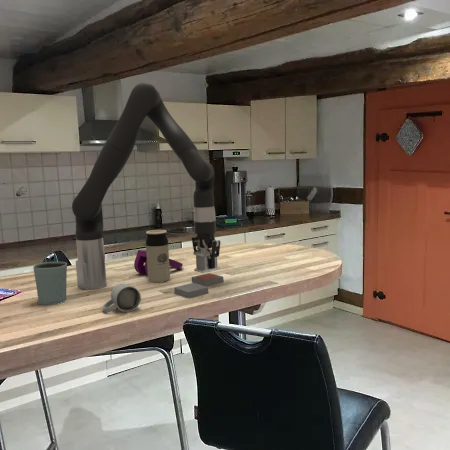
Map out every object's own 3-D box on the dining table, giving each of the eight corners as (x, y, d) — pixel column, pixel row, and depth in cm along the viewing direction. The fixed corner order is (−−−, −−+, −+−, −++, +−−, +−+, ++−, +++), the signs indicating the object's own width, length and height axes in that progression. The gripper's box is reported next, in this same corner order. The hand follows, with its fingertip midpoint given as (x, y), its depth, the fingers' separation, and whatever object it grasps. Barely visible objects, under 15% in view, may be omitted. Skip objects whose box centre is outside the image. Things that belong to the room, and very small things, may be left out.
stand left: (188, 298, 159) (188, 292, 158) (174, 293, 165) (174, 287, 164) (208, 293, 164) (208, 287, 163) (194, 288, 170) (193, 282, 169)
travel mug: (146, 278, 185) (143, 230, 183) (167, 276, 188) (164, 228, 185) (150, 283, 178) (147, 233, 175) (172, 281, 181) (169, 231, 178)
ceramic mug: (133, 302, 156) (131, 278, 155) (142, 309, 149) (140, 284, 148) (99, 309, 151) (97, 284, 150) (106, 316, 144) (104, 291, 143)
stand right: (205, 286, 171) (205, 280, 171) (191, 282, 178) (191, 276, 177) (223, 282, 176) (223, 276, 176) (209, 278, 182) (209, 272, 182)
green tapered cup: (31, 301, 162) (27, 265, 160) (60, 294, 169) (57, 259, 167) (45, 307, 155) (41, 269, 153) (75, 300, 162) (72, 263, 160)
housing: (202, 273, 172) (201, 254, 171) (194, 270, 176) (193, 252, 175) (219, 269, 177) (219, 250, 176) (211, 267, 181) (210, 249, 180)
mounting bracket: (166, 282, 203) (131, 270, 191) (172, 262, 205) (138, 249, 193) (181, 285, 197) (145, 274, 184) (187, 265, 198) (152, 252, 186)
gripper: (183, 219, 177) (186, 266, 179) (208, 222, 166) (211, 272, 168) (201, 216, 182) (203, 262, 184) (226, 220, 171) (228, 268, 173)
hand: (206, 267), depth 176 cm, fingers closed on housing, 5 cm apart
